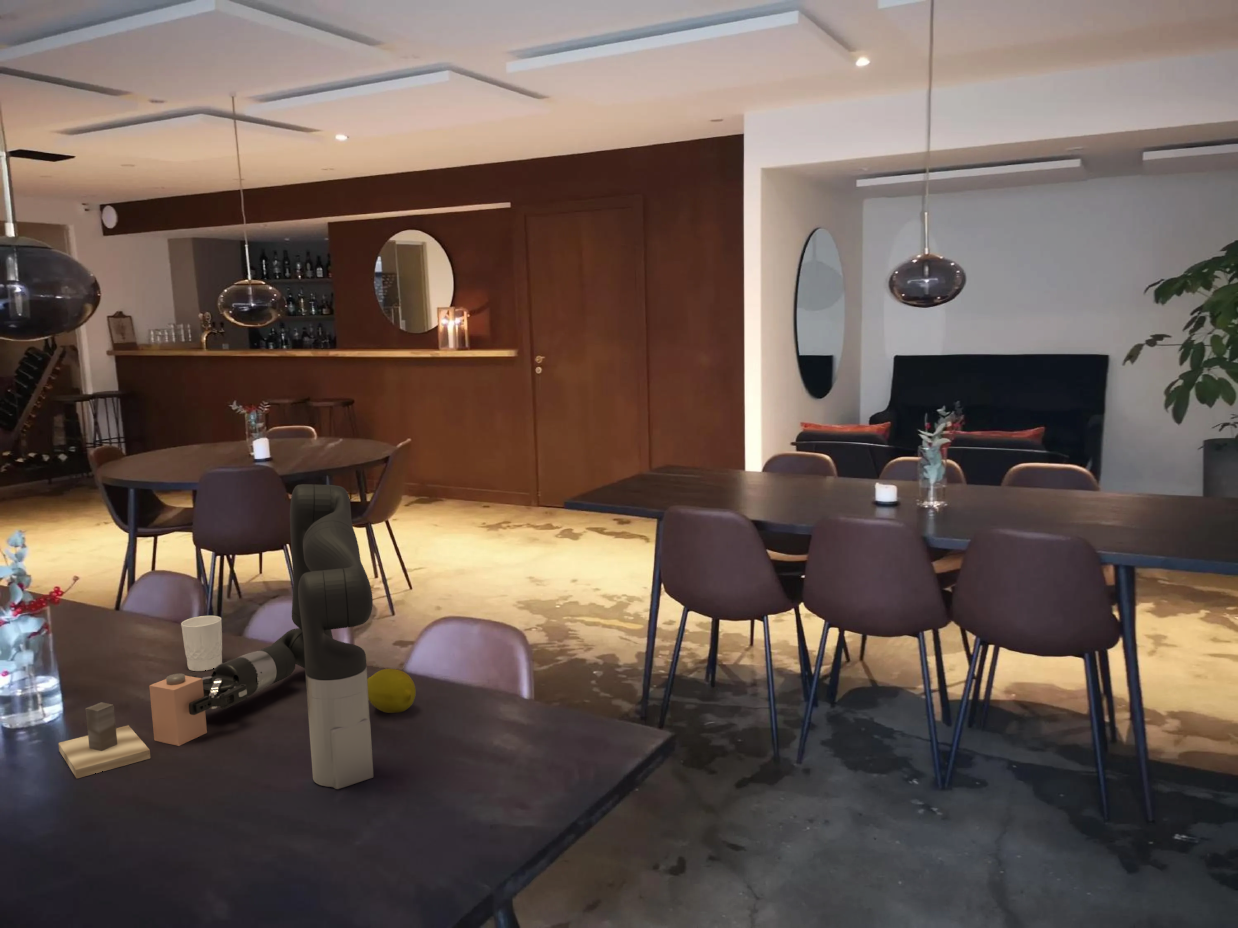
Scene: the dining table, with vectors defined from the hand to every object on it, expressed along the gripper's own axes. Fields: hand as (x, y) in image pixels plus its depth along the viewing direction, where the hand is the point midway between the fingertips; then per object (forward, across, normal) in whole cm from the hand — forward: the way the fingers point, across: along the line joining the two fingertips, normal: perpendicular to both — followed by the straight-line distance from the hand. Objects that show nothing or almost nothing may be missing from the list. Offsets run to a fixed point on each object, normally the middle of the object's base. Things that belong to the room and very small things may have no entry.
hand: (173, 705), depth 169 cm
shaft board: (+9, -6, +6) cm, 13 cm away
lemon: (-25, +28, +6) cm, 37 cm away
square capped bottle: (-1, 0, +6) cm, 6 cm away
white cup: (-30, -26, +6) cm, 40 cm away
